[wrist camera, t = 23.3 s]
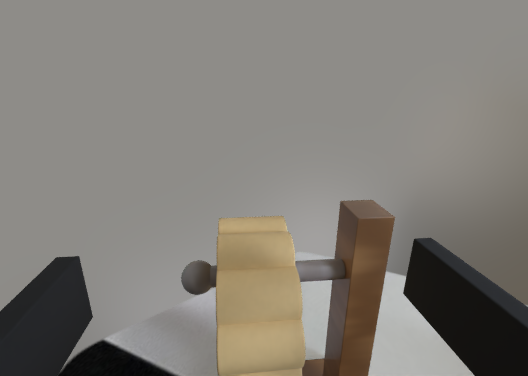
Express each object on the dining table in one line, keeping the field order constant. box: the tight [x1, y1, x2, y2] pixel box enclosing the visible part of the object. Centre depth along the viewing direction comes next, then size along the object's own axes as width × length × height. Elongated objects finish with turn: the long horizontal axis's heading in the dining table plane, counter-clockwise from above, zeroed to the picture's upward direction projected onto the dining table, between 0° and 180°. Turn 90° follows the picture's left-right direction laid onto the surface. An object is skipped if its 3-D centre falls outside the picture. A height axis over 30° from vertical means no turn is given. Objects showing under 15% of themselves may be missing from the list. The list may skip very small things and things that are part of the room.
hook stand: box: [181, 200, 395, 376], centre depth 22 cm, size 15×10×21 cm, turn 96°
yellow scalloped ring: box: [216, 216, 305, 376], centre depth 20 cm, size 4×12×12 cm, turn 6°
